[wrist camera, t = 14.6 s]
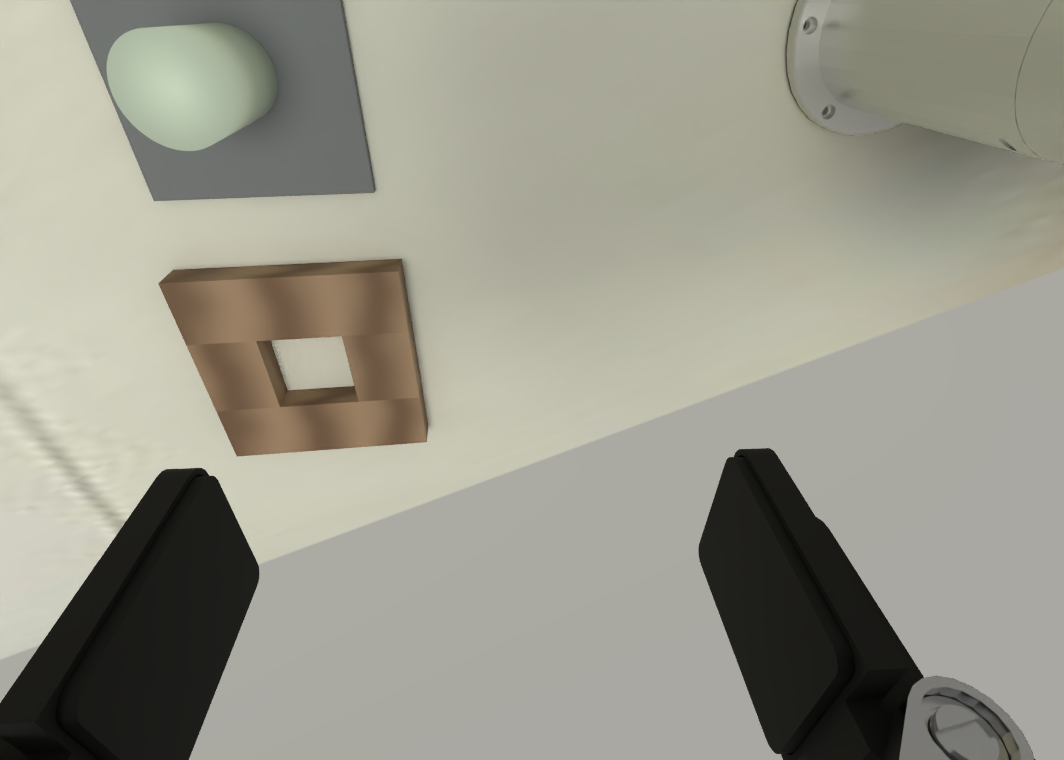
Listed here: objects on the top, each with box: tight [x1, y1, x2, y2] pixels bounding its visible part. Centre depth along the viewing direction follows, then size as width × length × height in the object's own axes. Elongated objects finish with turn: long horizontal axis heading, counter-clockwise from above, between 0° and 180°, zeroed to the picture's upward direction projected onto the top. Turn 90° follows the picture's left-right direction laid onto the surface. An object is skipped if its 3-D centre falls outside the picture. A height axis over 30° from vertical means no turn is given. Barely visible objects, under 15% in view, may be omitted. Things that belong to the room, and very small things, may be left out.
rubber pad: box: [70, 0, 375, 201], centre depth 31 cm, size 14×14×1 cm
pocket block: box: [158, 259, 428, 456], centre depth 42 cm, size 16×16×2 cm
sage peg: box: [106, 23, 278, 151], centre depth 27 cm, size 5×5×8 cm
